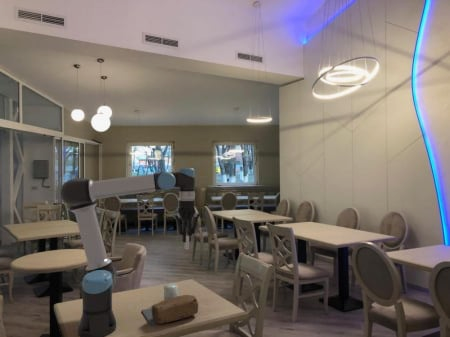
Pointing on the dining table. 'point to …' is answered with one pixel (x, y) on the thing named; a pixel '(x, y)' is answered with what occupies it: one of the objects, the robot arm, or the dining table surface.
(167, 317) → the block
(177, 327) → the dining table surface
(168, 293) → the grey cylinder
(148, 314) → the mat
